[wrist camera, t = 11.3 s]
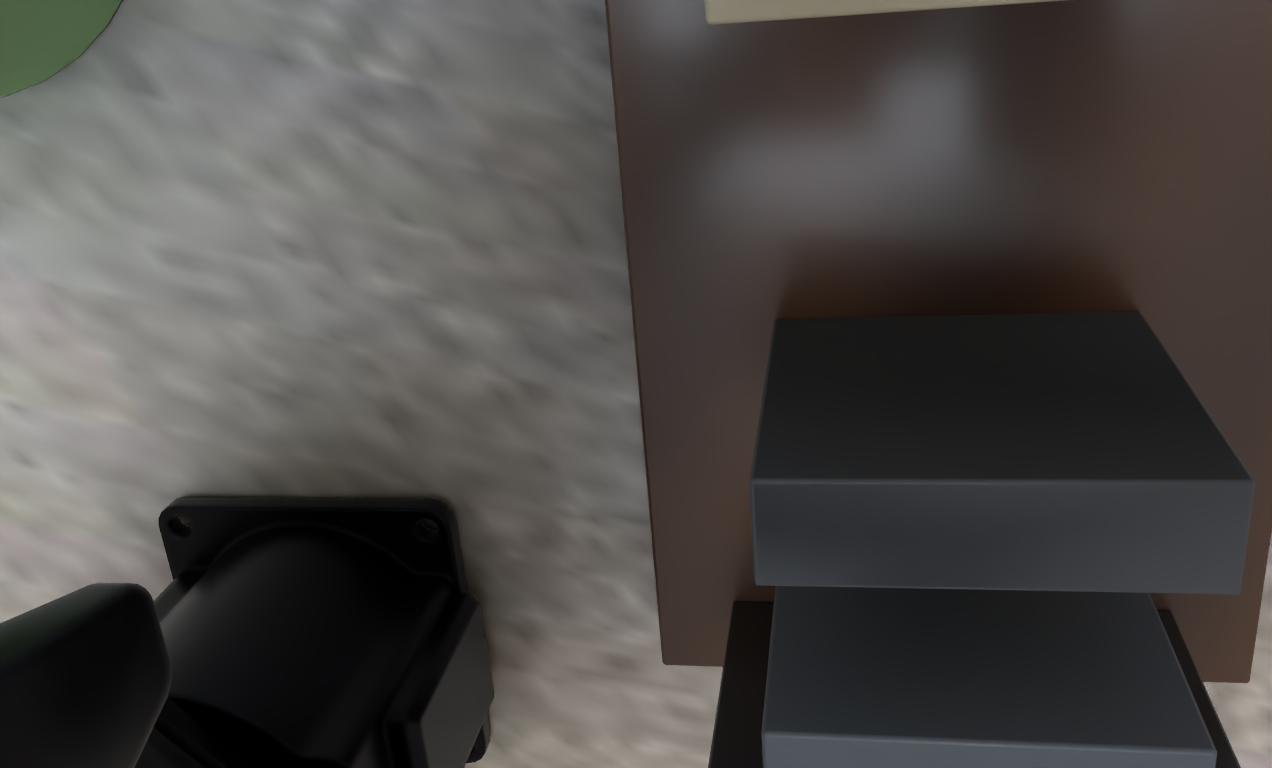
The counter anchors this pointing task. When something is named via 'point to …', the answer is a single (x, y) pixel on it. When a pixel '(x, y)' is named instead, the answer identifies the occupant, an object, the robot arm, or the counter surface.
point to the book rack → (932, 247)
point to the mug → (46, 37)
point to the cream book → (827, 8)
